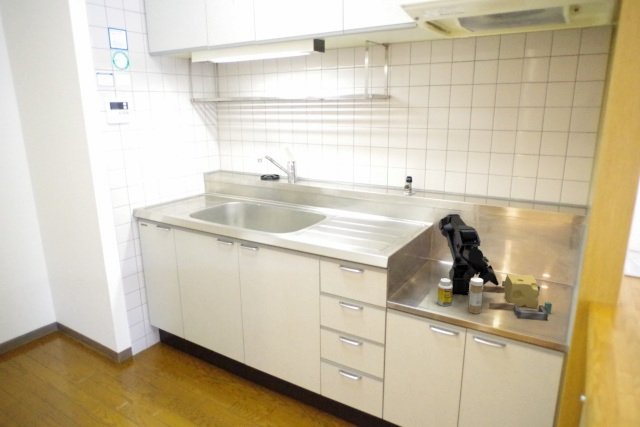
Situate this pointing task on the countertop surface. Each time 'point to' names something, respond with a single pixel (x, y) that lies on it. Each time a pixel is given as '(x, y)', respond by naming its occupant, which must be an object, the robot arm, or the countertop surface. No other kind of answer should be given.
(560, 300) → the countertop surface
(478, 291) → the sprinkles bottle
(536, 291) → the cheese
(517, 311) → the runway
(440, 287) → the supplement bottle
